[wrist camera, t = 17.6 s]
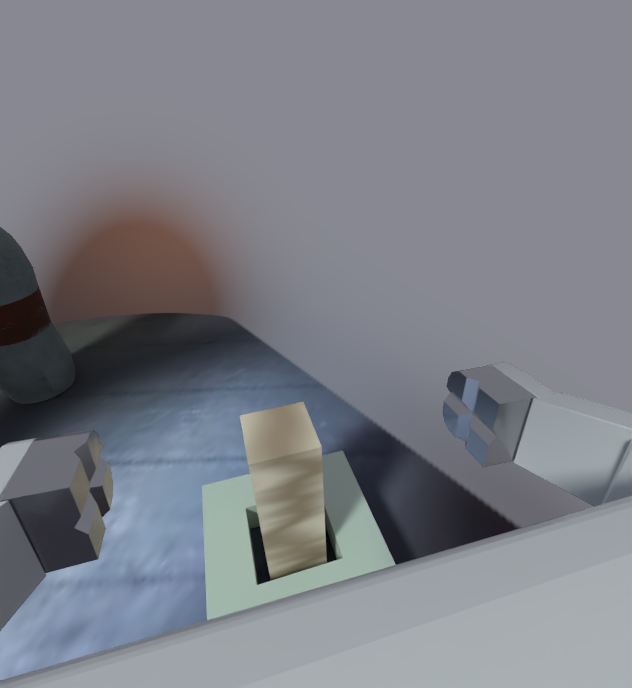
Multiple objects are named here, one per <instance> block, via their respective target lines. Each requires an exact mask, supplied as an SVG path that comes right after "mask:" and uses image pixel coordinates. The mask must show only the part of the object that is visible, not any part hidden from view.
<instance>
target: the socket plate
mask: <svg viewBox="0 0 632 688" xmlns="http://www.w3.org/2000/svg"><path fill="white" fill-rule="evenodd" d="M322 467H323V490H324V512H325V526H326V529H327V532H328V535H329V538H330V541H331V544H332V547H333V550H334V553H335V556H336V559H337V560H335V561H332V562H329V563H326V564H322V565H319V566H316V567H313V568H310V569H307V570H303V571H300V572H297V573H294V574H291V575H288V576H284V577H281V578H278V579H275V580H272V581H269V582H265V583H262V584H259V585H258V579H257V572H256V566H255V559H254V552H253V546H252V539H251V532H250V529H252V528H256V527H259V526H260V523H259V517H258V512H257V507H256V502H255V496H254V491H253V486H252V481H251V475H250V474H247V475H243V476H239V477H235V478H231V479H227V480H223V481H219V482H215V483H211V484H207V485H203V486H202V497H203V524H204V550H205V576H206V603H207V620H209V619H213V618H216V617H220V616H223V615H226V614H230V613H233V612H237V611H240V610H243V609H247V608H250V607H254V606H257V605H260V604H264V603H267V602H271V601H274V600H278V599H281V598H284V597H288V596H291V595H295V594H298V593H301V592H305V591H308V590H312V589H315V588H319V587H322V586H325V585H329V584H332V583H336V582H339V581H342V580H346V579H349V578H353V577H356V576H360V575H363V574H366V573H370V572H373V571H377V570H380V569H384V568H387V567H390V566H394V565H396V564H395V562H394V560H393V558H392V556H391V554H390V551H389V549H388V547H387V545H386V543H385V541H384V538H383V536H382V534H381V532H380V530H379V528H378V526H377V523H376V521H375V519H374V517H373V515H372V513H371V510H370V508H369V506H368V504H367V502H366V500H365V497H364V495H363V493H362V491H361V489H360V487H359V485H358V482H357V480H356V478H355V476H354V474H353V472H352V469H351V467H350V465H349V463H348V461H347V459H346V457H345V454H344V452H343V450H342V451H338V452H334V453H330V454H326V455H322Z"/></svg>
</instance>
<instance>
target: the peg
mask: <svg viewBox="0 0 632 688" xmlns="http://www.w3.org/2000/svg"><path fill="white" fill-rule="evenodd" d="M240 420H241V425H242V431H243V437H244V442H245V448H246V454H247V459H248V465H249V470H250V475H251V481H252V486H253V491H254V496H255V502H256V507H257V512H258V517H259V523H260V528H261V533H262V538H263V544H264V549H265V554H266V559H267V564H268V570H269V575H270V580H271V581H272V580H275V579H278V578H281V577H284V576H288V575H291V574H294V573H297V572H300V571H303V570H307V569H310V568H313V567H316V566H319V565H322V564H326V563H327V556H326V534H325V512H324V490H323V467H322V447H321V444H320V442H319V439H318V437H317V434H316V432H315V429H314V427H313V425H312V422H311V420H310V417H309V415H308V412H307V410H306V407H305V405H304V402H300V403H295V404H291V405H286V406H281V407H277V408H272V409H268V410H263V411H258V412H254V413H249V414H245V415H240Z"/></svg>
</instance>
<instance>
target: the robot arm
mask: <svg viewBox="0 0 632 688" xmlns="http://www.w3.org/2000/svg"><path fill="white" fill-rule="evenodd" d="M447 387H448V389H449V391H450V394H449V396H448V397H447V398H446V399H445V401H444V406H443V416H444V420H445V424H446V426H447V428H448V429H449V431H450V432H451V433H452V434H453V435H454V436H455V437H457V438H459V439H461V440H464V441H466V449H467V450H468V451H469V453H470V454H471V455H472V456H473V457H474V458H475V459H476V460H477V461H478V462H479V463H480V464H481V465H482V466H483V467H487V466H491V465H496V464H501V463H506V462H511V461H514V463H515V464H517V465H519V466H521V467H523V468H525V469H526V470H528V471H530V472H532V473H534V474H536V475H537V476H539V477H541V478H543V479H545V480H547V481H549V482H550V483H552V484H554V485H556V486H558V487H559V488H561V489H563V490H565V491H567V492H569V493H571V494H572V495H574V496H576V497H578V498H580V499H582V500H583V501H585V502H587V503H589V504H591V505H593V506H594V507H591V508H588V509H585V510H581V511H578V512H574V513H571V514H567V515H564V516H561V517H557V518H554V519H551V520H547V521H544V522H540V523H537V524H533V525H530V526H527V527H523V528H520V529H516V530H513V531H510V532H506V533H503V534H499V535H496V536H493V537H489V538H486V539H483V540H479V541H476V542H472V543H469V544H466V545H462V546H459V547H455V548H452V549H449V550H445V551H442V552H438V553H435V554H431V555H428V556H425V557H421V558H418V559H414V560H411V561H407V562H404V563H401V564H397V565H394V566H390V567H387V568H384V569H380V570H377V571H373V572H370V573H366V574H363V575H360V576H356V577H353V578H349V579H346V580H342V581H339V582H336V583H332V584H329V585H325V586H322V587H319V588H315V589H312V590H308V591H305V592H301V593H298V594H295V595H291V596H288V597H284V598H281V599H278V600H274V601H271V602H267V603H264V604H260V605H257V606H254V607H250V608H247V609H243V610H240V611H237V612H233V613H230V614H226V615H223V616H220V617H216V618H213V619H209V620H206V621H202V622H199V623H196V624H192V625H189V626H185V627H182V628H179V629H175V630H172V631H168V632H165V633H161V634H158V635H155V636H151V637H148V638H144V639H141V640H138V641H134V642H131V643H127V644H124V645H121V646H117V647H114V648H110V649H107V650H103V651H100V652H97V653H93V654H90V655H86V656H83V657H80V658H76V659H73V660H69V661H66V662H63V663H59V664H56V665H52V666H49V667H45V668H42V669H39V670H35V671H32V672H28V673H25V674H22V675H18V676H15V677H11V678H8V679H5V680H1V681H0V688H632V413H629V412H626V411H622V410H619V409H616V408H612V407H609V406H605V405H601V404H598V403H594V402H591V401H588V400H584V399H581V398H577V397H574V396H571V395H567V394H563V393H559V394H556V393H554V392H553V391H551V390H550V389H548V388H547V387H545V386H543V385H542V384H540V383H539V382H538V381H536V380H535V379H533V378H531V377H530V376H528V375H527V374H525V373H524V372H522V371H521V370H519V369H518V368H516V367H515V366H513V365H512V364H510V363H505V362H502V363H497V364H492V365H487V366H484V367H478V368H473V369H467V370H461V371H455V372H452V373H451V375H450V376H449V378H448V383H447ZM102 447H103V445H102V442H101V439H100V437H99V434H98V433H97V432H96V431H95V430H90V431H83V432H76V433H69V434H62V435H55V436H48V437H41V438H38V439H35V438H34V439H28V440H22V441H16V442H9V443H7V444H5V445H3V446H2V447H1V448H0V631H1V629H2V628H3V627H4V626H5V625H6V623H7V622H8V621H9V620H10V619H11V617H12V616H13V615H14V614H15V613H16V611H17V610H18V609H19V608H20V607H21V605H22V604H23V603H24V602H25V601H26V599H27V598H28V597H29V596H30V595H31V593H32V592H33V591H34V590H35V588H36V587H37V586H38V585H39V584H40V582H41V581H42V580H43V579H44V578H45V576H46V574H45V573H48V572H51V571H55V570H59V569H63V568H66V567H70V566H74V565H78V564H82V563H85V562H89V561H93V560H97V559H98V558H99V554H100V549H101V545H102V541H103V537H104V533H105V529H106V528H105V525H104V522H103V519H102V517H103V516H104V515H105V514H106V513H107V512H108V511H109V510H110V507H111V502H112V498H113V480H112V474H111V470H110V466H109V463H108V462H106V461H105V460H103V459H102V458H100V454H101V451H102Z"/></svg>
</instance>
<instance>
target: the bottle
mask: <svg viewBox="0 0 632 688" xmlns="http://www.w3.org/2000/svg"><path fill="white" fill-rule="evenodd" d="M74 381H75V366H74V363H73V359H72V356H71V352H70V350H69V349H68V347H67V346H66V344H65V342H64V341H63V339H62V337H61V336H60V334H59V333H58V331H57V330H56V328H55V327H54V325H53V324H52V322H51V320H50V317H49V315H48V312H47V309H46V306H45V303H44V300H43V298H42V295H41V292H40V289H39V286H38V283H37V280H36V276H35V273H34V270H33V267H32V265H31V263H30V262H29V260H28V258H27V257H26V255H25V253H24V252H23V250H22V248H21V247H20V246H19V245H18V243H17V242H16V241H15V239H14V238H13V237H12V236H11V235H10V234H9V233H7V232H6V231H5V230H3V229H2V228H1V227H0V388H1V390H2V391H3V392H4V393H5V394H6V395H7V396H8V397H9V398H11V399H12V400H13V401H15V402H16V403H20V404H32V403H38V402H42V401H45V400H48V399H50V398H53V397H55V396H57V395H59V394H61V393H62V392H64V391H65V390H67V389H68V388H69V387H70V386H71V385H72V384H73V382H74Z"/></svg>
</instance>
